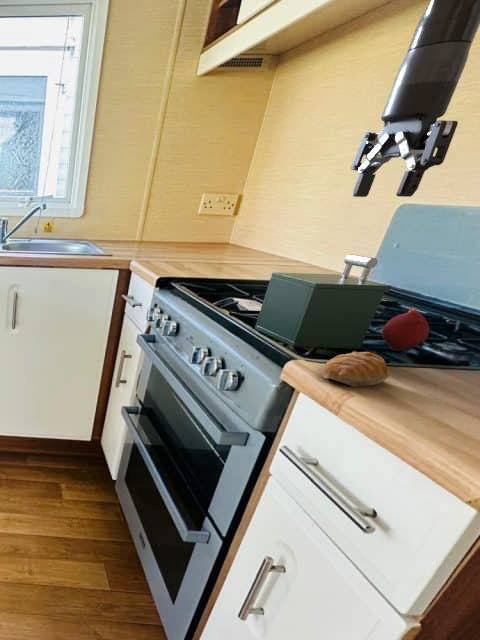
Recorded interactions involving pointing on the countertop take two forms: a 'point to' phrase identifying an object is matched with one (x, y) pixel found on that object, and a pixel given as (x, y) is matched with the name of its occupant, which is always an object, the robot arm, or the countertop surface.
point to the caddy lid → (338, 276)
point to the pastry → (357, 369)
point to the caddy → (317, 314)
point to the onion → (405, 330)
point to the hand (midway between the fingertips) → (380, 196)
